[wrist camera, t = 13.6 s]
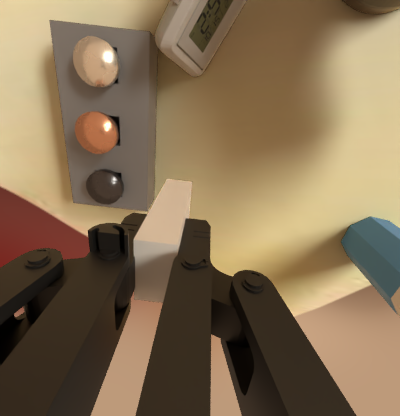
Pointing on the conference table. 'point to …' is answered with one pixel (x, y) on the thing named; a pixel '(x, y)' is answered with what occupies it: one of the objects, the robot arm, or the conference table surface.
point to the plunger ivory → (96, 61)
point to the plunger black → (105, 186)
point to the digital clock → (195, 31)
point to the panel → (111, 111)
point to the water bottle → (377, 256)
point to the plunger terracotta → (97, 132)
